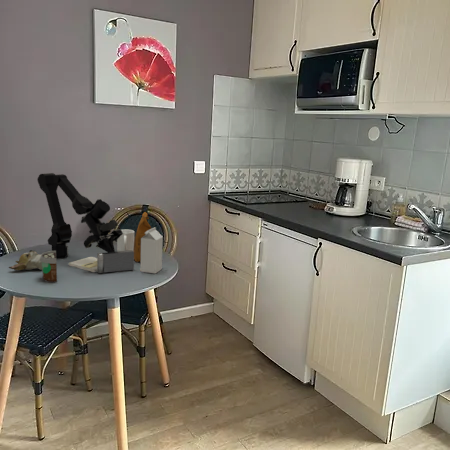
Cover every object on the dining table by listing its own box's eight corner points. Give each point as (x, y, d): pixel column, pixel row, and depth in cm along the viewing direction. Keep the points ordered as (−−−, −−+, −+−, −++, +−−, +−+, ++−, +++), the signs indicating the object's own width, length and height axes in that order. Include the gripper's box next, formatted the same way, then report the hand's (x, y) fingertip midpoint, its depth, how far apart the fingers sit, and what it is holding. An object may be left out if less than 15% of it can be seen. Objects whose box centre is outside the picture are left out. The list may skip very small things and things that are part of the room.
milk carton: (161, 269, 203) (163, 227, 199) (155, 274, 196) (156, 231, 193) (147, 267, 205) (148, 226, 201) (140, 271, 198) (140, 229, 194)
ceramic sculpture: (44, 252, 188) (6, 254, 186) (46, 272, 190) (8, 274, 188) (50, 246, 198) (14, 247, 196) (52, 265, 200) (16, 267, 198)
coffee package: (154, 255, 224) (155, 211, 220) (154, 262, 212) (155, 216, 208) (133, 255, 223) (134, 211, 218) (132, 262, 211) (133, 216, 206)
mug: (133, 255, 222) (133, 235, 220) (115, 255, 221) (115, 234, 219) (134, 249, 234) (134, 229, 232) (118, 248, 233) (118, 229, 230)
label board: (68, 265, 201) (68, 261, 201) (90, 259, 213) (90, 255, 212) (93, 272, 194) (93, 268, 194) (114, 265, 205) (115, 261, 205)
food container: (40, 274, 188) (39, 250, 186) (56, 273, 190) (55, 250, 188) (40, 284, 177) (39, 259, 175) (56, 283, 179) (56, 258, 177)
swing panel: (98, 273, 192) (98, 254, 190) (96, 271, 194) (96, 253, 192) (133, 269, 199) (134, 251, 197) (131, 267, 202) (132, 250, 200)
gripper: (88, 217, 187) (108, 248, 184) (120, 211, 203) (138, 239, 200) (75, 232, 193) (94, 262, 190) (106, 225, 209) (124, 253, 206)
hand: (113, 254), depth 196 cm, fingers closed
